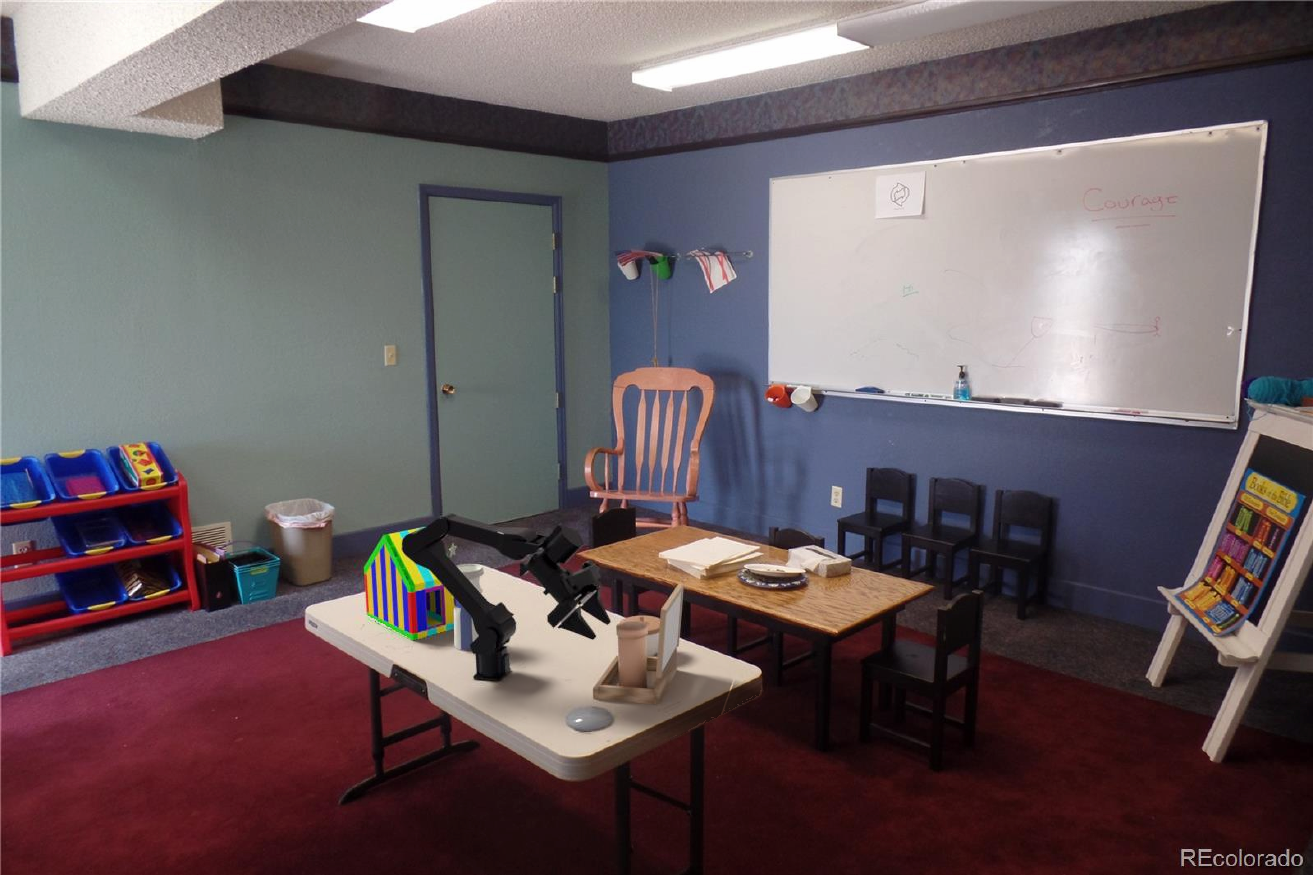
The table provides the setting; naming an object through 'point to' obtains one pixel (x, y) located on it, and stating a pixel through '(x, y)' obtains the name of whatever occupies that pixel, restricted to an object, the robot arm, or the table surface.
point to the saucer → (588, 718)
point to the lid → (669, 628)
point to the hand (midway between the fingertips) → (602, 630)
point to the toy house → (405, 592)
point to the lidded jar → (649, 632)
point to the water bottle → (462, 619)
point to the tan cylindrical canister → (632, 653)
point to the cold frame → (652, 695)
